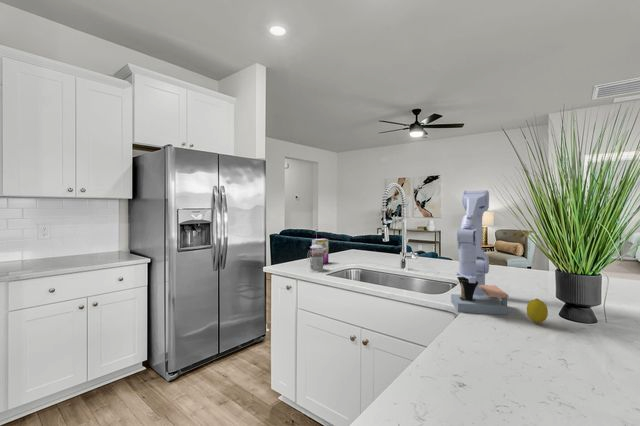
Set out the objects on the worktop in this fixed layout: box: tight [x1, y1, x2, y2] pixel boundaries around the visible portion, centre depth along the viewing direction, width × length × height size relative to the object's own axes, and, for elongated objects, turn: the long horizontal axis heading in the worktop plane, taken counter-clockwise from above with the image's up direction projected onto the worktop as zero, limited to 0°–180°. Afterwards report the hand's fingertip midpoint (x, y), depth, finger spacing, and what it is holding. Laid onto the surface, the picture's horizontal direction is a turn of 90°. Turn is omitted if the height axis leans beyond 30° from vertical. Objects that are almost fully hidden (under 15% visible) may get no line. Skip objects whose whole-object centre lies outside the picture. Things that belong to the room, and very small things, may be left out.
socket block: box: [450, 284, 509, 316], centre depth 114 cm, size 13×16×7 cm
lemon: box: [526, 297, 549, 325], centre depth 98 cm, size 6×6×8 cm
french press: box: [306, 228, 326, 273], centre depth 186 cm, size 10×12×25 cm
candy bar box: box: [311, 238, 330, 264], centre depth 208 cm, size 11×5×16 cm, turn 130°
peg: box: [460, 283, 472, 301], centre depth 115 cm, size 4×4×8 cm
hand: (467, 298), depth 115 cm, fingers closed on peg, 3 cm apart
